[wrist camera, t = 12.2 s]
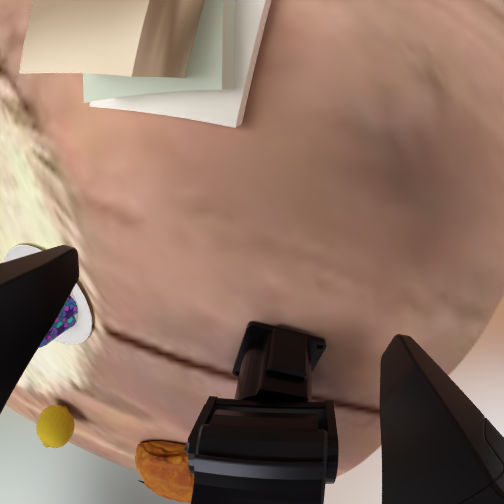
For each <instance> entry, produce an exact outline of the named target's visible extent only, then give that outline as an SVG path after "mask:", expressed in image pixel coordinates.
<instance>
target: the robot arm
mask: <svg viewBox="0 0 504 504" xmlns="http://www.w3.org/2000/svg"><path fill="white" fill-rule="evenodd" d="M78 278H79V263H78V252H77V250H76V249H75V248H73V247H70V246H67V245H61V246H58V247H54V248H51V249H47V250H44V251H40V252H37V253H33V254H30V255H27V256H23V257H20V258H17V259H13V260H10V261H7V262H4V263H0V413H1V412H2V410H3V408H4V406H5V404H6V402H7V400H8V399H9V397H10V395H11V393H12V391H13V389H14V388H15V386H16V384H17V382H18V381H19V379H20V377H21V376H22V374H23V372H24V370H25V369H26V367H27V365H28V364H29V362H30V360H31V359H32V357H33V356H34V354H35V352H36V351H37V349H38V348H39V346H40V344H41V343H42V341H43V340H44V338H45V337H46V335H47V333H48V332H49V330H50V329H51V327H52V326H53V324H54V323H55V321H56V319H57V317H58V316H59V314H60V312H61V310H62V308H63V306H64V304H65V303H66V301H67V299H68V297H69V295H70V294H71V292H72V290H73V288H74V286H75V285H76V283H77V281H78ZM251 328H254V329H255V330H253V329H251ZM319 344H321V345H319ZM325 348H326V341H325V340H324V339H321V338H316V337H312V336H307V335H303V334H299V333H295V332H291V331H286V330H282V329H278V328H274V327H270V326H266V325H262V324H258V323H254V322H252V323H249V324H248V325H247V328H246V331H245V334H244V337H243V340H242V343H241V346H240V349H239V352H238V355H237V358H236V362H235V365H234V368H233V375H235V376H237V377H239V379H238V384H237V389H236V394H235V399H223V398H218V397H214V396H209V398H208V400H207V403H206V404H205V405H204V407H203V409H202V411H201V413H200V415H199V417H198V419H197V421H196V423H195V425H194V427H193V429H192V431H191V434H190V436H189V438H188V442H187V443H186V445H185V453H186V454H187V455H188V466H189V470H190V473H191V474H192V475H194V485H193V493H192V499H191V504H323V502H324V491H325V484H332V483H334V482H335V479H336V475H337V467H338V435H337V427H336V419H335V412H334V405H333V400H325V402H312V375H311V373H312V371H313V369H314V367H315V366H316V364H317V362H318V361H319V359H320V357H321V355H322V354H323V352H324V350H325ZM238 371H239V372H238ZM380 424H381V445H382V504H504V437H503V436H502V435H501V434H500V433H499V432H498V431H497V430H496V428H495V427H494V426H493V425H492V424H491V423H490V422H489V420H488V419H487V418H484V415H483V414H482V413H481V411H480V410H479V409H478V408H477V407H476V406H475V405H474V404H473V403H472V402H471V400H470V399H469V398H468V397H467V396H466V395H465V394H464V393H463V392H462V390H460V389H459V387H458V386H457V385H456V384H455V383H454V382H453V381H452V380H451V379H450V377H449V376H448V375H447V374H446V373H445V372H444V371H443V370H442V369H441V368H440V367H439V366H438V365H437V364H436V363H435V362H434V361H433V359H432V358H431V357H430V356H429V355H428V354H427V353H426V352H425V351H424V350H423V349H422V348H421V347H420V346H419V345H418V344H417V343H416V342H415V341H414V340H413V339H412V338H411V337H410V336H406V335H401V334H398V335H396V336H395V337H394V338H393V339H392V341H391V343H390V344H389V346H388V347H387V349H386V350H385V352H384V353H383V355H382V358H381V375H380Z"/></svg>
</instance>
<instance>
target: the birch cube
mask: <svg viewBox="0 0 504 504" xmlns="http://www.w3.org/2000/svg"><path fill="white" fill-rule="evenodd" d="M204 1H205V0H34V1H33V5H32V9H31V13H30V17H29V22H28V26H27V31H26V36H25V41H24V47H23V52H22V59H21V65H20V73H19V74H24V73H87V74H106V75H120V76H131V77H170V78H185V76H186V72H187V67H188V63H189V59H190V55H191V50H192V46H193V42H194V38H195V34H196V31H197V27H198V23H199V19H200V16H201V12H202V8H203V5H204Z"/></svg>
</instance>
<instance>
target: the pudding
mask: <svg viewBox="0 0 504 504" xmlns="http://www.w3.org/2000/svg"><path fill="white" fill-rule="evenodd" d="M40 251H42V250H40V249H38V248H35V247H33V246H28V245H17V246H15V247H12V248H11V249H10V250H9V251H8V252H7V254H6V256H5V259H4V262H7V261H10V260H13V259H17V258H20V257H23V256H27V255H30V254H33V253H37V252H40ZM72 294H73V295H74V298H75V300H76V302H75V301H74V300H73V298H72V297H71V296H70V295H69V297H68V299H67V301H66V303H65V304H64V306H63V308H62V310H61V312H60V314H59V316H58V317H57V319H56V321H55V323H54V324H53V326H52V327H51V329H50V330H49V332H48V333H47V335H46V337H45V338H44V340H43V341H42V343H41V344H40V346H39V347H43V346H45V345H47V344H48V343H49V342H51V341H52V340H55V341H58V342H60V343H64V344H79V343H82V342H83V341H85V340H86V339H87V338H88V337H89V335H90V333H91V329H92V317H91V313H90V309H89V306H88V304H87V301H86V299H85V297H84V295H83V293H82V291H81V289H80V288H79V286H78V285H77V283H76V285H75V286H74V288H73V290H72ZM76 303H77V305H76ZM77 306H78V307H77ZM77 309H78V313H79V314H78V320H77V322H76V320H75V317H74V315H75V314H76V313H77ZM75 322H76V324H75ZM74 324H75V325H74ZM73 325H74V326H73ZM72 326H73V327H72ZM70 327H71V328H70Z"/></svg>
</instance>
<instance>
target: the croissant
mask: <svg viewBox="0 0 504 504" xmlns="http://www.w3.org/2000/svg"><path fill="white" fill-rule="evenodd" d="M135 460H136V465H137V470H138V472H139V474H140V476H141V478H142V479H143V480H144V483H145V485H146V486H147V487H148V488H150V489H151V490H152V491H154V492H155V493H156V494H158V495H160V496H162V497H165V498H167V499H171V500H176V501H179V502H188V503H191V499H192V493H193V485H194V475H192V474H191V473H190V470H189V466H188V455H187V454H186V453H185V445H184V444H179V443H171V442H165V441H155V442H153V441H149V442H145V443H140V444H138V446H137V453H136V456H135Z"/></svg>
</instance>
